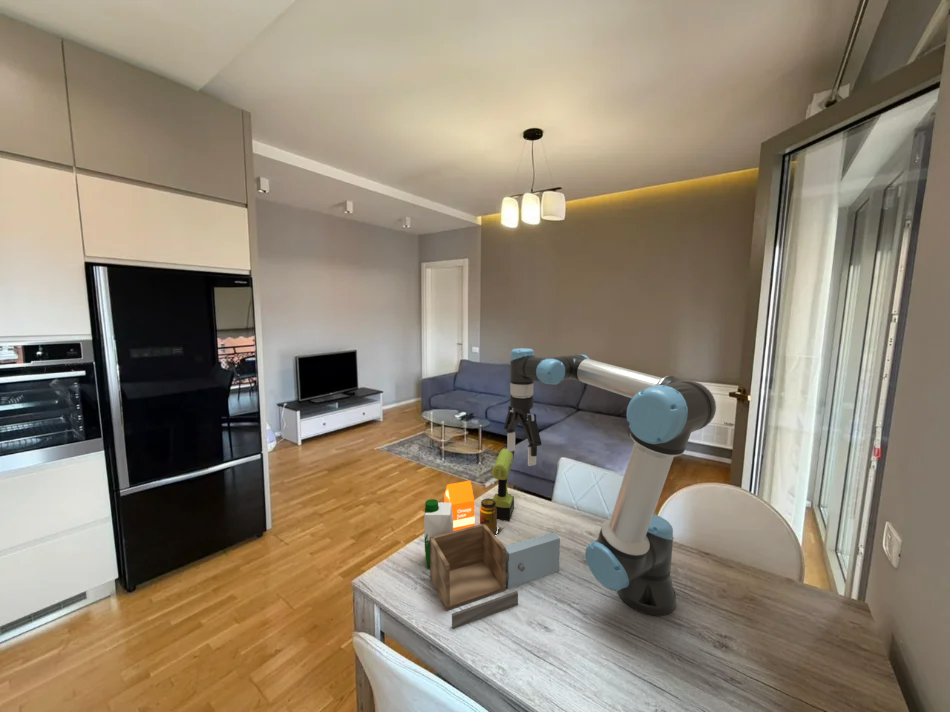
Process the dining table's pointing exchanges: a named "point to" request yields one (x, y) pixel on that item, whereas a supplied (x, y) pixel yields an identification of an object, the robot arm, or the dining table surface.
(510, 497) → the cordless drill
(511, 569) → the door
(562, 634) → the dining table surface
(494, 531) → the condiment
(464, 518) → the orange juice
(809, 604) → the dining table surface
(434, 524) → the milk carton
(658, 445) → the robot arm
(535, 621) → the dining table surface
